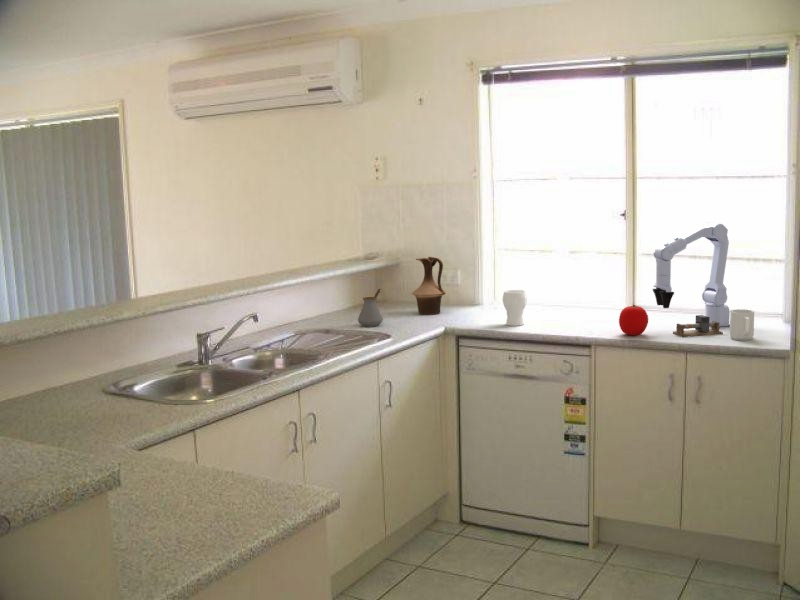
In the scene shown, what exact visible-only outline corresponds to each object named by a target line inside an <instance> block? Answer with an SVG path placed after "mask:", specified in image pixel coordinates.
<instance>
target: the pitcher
mask: <svg viewBox="0 0 800 600" xmlns="http://www.w3.org/2000/svg"><path fill="white" fill-rule="evenodd" d="M415 260H416V261H419V262H420V263H421V264H422V266H423V272H424V274H423V279H422V283H421V284H420V285H419V286H418V287H417V288H416V289H414V291H412V292H411V294H412V295H413V296H414V297H415V298H416V304H417V311H418V314H419V315H428V316H429V315H437V314H441V304H442V303H441V302H442V297H443V296H444V295H446V294H447V291H446V290H444V289H443V287H442V284H441V278H442V274H443V267H444V264H443V261H442V259H441V258H439V257H434V256H428V257H419V258H416V259H415ZM437 263H438V273H437V283H436V281H435V280H434V277H433V268H434V267H435V266H436V264H437Z"/></svg>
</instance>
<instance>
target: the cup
mask: <svg viewBox="0 0 800 600" xmlns="http://www.w3.org/2000/svg"><path fill="white" fill-rule="evenodd" d="M527 300H528V297H527V292H526V290H522V289H508V290H505V291H503V295H502V303H503V306H504V309H505V311H506V316H507V317H506V324H505V325H506V326H510V327H511V326H512V327H513V326H514V327H516V326H517V327H518V326H519V327H520V326H523V325H524V318H523V316H524V315H523V314H524V309H525V307H526V305H527V303H528V302H527Z"/></svg>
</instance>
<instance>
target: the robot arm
mask: <svg viewBox="0 0 800 600" xmlns="http://www.w3.org/2000/svg"><path fill="white" fill-rule="evenodd" d="M702 238H705V239H706V240H708V241H710V243H712V245H713V246H714V247H713V248H714V249H713V254H712V262H711V269H710V275H709V276H710V277H709V282H707V283H706V284H705V286H704V290H703V291H702V294H701V298H702V301H703V302H704V305H705V309H704V312H705V313H704V314H705V315H704V316H708V317H710V318H709V323H711V322H712V321H715V322H719V327H730V311H731V310H730V307H729V306H728V305H727V304H726V303H727V300H728V294H727V286H725V285H724V280H725V279H724V278H725V271H726V266H727V265H726V264H727V257H728V251H729V244H730V243H729V238H728V228H727V227H726V226H725V225H724V224H722V223H711V222H705V223H703V224H701V225H699V226H698V227H697V228H695V229H694V230H692V231H690V233H688V234H687V235H685V236H683V237H681V236H678V237H677V236H675V237H673V239H672V240H671V241H668V242H665V243H664V245H658V246H657V247H656V249H655V250H654V252H653V257H654V258H655V263H656V269H655V270H656V271H655V272H656V273H655V275H656V277H655V279H656V280H655V281H656V282H655V284H653V288H652V291H653V294H654V297H655V300H656V304H657V306H662V308H663V309H669V308H670V306H671V302H672V299H673V296H674V294H675V292H674V291H672V284H671V277H672V276H671V275H672V274H671V269H672V268H671V267H672V259H673V258H674V256H675V255H677V254H679V253H680V252H682V251H684V250H685V249H687V245H689V244H691V243H693V242H695V241H697V240H700V239H702Z"/></svg>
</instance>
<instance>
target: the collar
mask: <svg viewBox="0 0 800 600" xmlns="http://www.w3.org/2000/svg"><path fill="white" fill-rule="evenodd" d="M709 318H710V317H708V316H705V315H704V314H696V315H695V324H697V323H701V328H694V330H698V331H701V332H709V329H710V327H709Z"/></svg>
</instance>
